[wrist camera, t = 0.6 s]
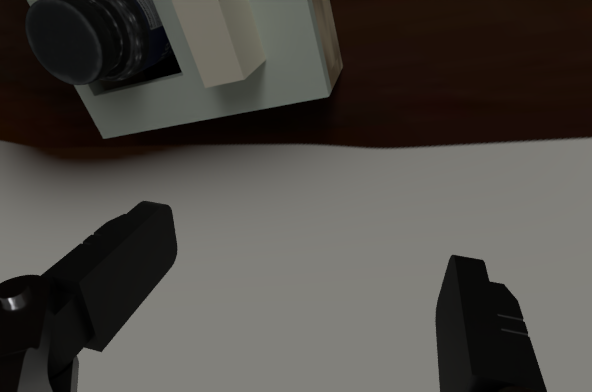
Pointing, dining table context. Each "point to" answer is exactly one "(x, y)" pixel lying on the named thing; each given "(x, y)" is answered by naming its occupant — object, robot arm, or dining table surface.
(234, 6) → the lid
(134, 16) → the pill bottle
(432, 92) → the dining table surface
